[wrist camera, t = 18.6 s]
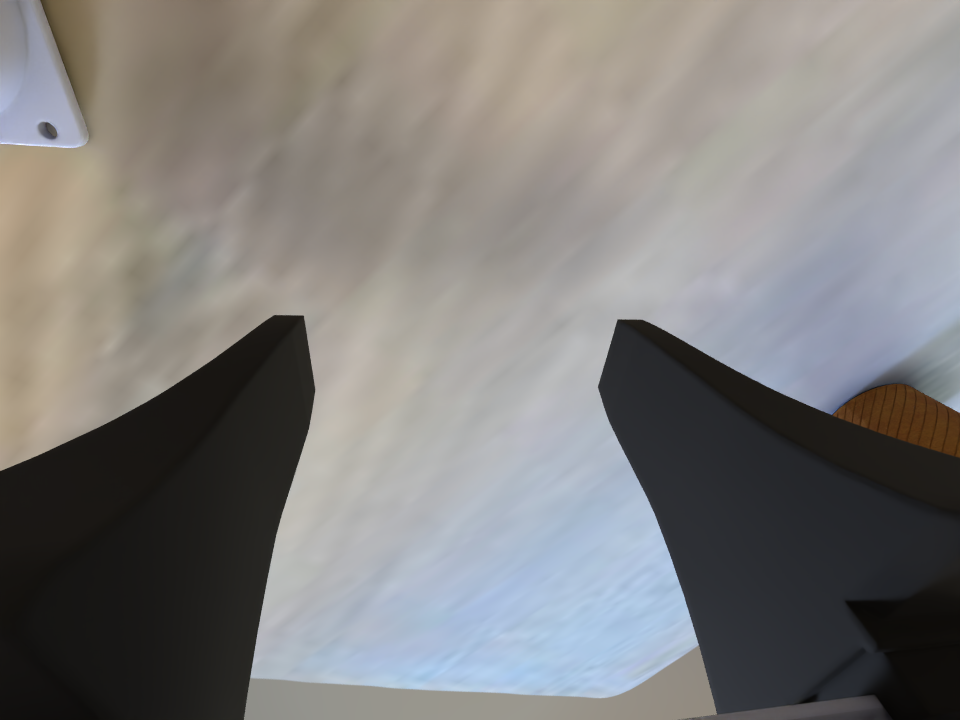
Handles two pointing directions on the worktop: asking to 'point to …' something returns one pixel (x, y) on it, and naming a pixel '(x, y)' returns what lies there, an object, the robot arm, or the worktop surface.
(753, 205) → the worktop surface
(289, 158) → the worktop surface
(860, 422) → the disposable coffee cup
